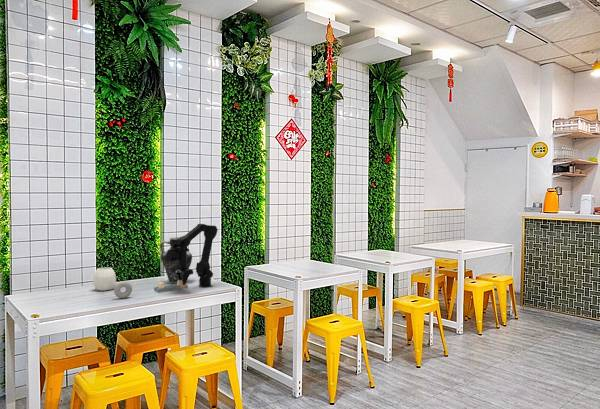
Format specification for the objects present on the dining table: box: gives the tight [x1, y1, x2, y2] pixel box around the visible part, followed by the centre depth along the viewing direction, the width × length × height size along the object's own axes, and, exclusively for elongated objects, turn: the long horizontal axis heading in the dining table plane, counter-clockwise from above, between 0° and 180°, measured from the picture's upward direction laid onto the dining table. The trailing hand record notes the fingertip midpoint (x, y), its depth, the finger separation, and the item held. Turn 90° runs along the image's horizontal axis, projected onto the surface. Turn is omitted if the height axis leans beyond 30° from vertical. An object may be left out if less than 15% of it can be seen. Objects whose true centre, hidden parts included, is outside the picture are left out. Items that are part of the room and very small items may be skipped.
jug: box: [159, 236, 193, 284], centre depth 325 cm, size 21×19×30 cm
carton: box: [153, 280, 189, 293], centre depth 303 cm, size 19×7×6 cm, turn 128°
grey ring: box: [113, 280, 133, 299], centre depth 280 cm, size 10×4×10 cm, turn 121°
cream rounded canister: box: [92, 266, 117, 292], centre depth 305 cm, size 13×13×14 cm
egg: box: [179, 280, 187, 288], centre depth 297 cm, size 4×4×5 cm
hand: (182, 284), depth 297 cm, fingers closed on egg, 4 cm apart
